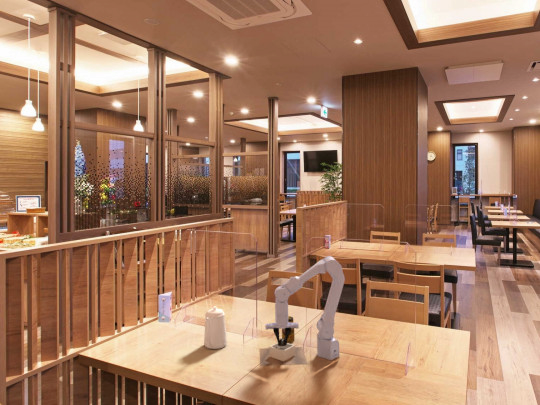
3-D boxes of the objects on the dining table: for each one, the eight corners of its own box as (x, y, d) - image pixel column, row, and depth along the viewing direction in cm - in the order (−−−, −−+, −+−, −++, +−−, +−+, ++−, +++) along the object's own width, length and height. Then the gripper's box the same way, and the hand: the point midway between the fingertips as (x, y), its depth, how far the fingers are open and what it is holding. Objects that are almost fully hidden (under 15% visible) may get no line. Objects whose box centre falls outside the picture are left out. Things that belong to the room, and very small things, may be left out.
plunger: (281, 350, 187) (281, 336, 186) (291, 354, 183) (291, 339, 182) (273, 354, 182) (272, 339, 182) (283, 358, 178) (282, 343, 178)
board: (302, 348, 192) (302, 347, 192) (307, 365, 174) (307, 364, 174) (259, 350, 191) (259, 348, 191) (260, 367, 173) (260, 365, 173)
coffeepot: (194, 355, 186) (193, 314, 185) (213, 335, 211) (212, 299, 210) (217, 357, 184) (216, 315, 183) (233, 336, 208) (232, 300, 208)
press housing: (281, 350, 188) (281, 341, 188) (295, 355, 183) (295, 345, 183) (269, 356, 182) (269, 346, 182) (283, 361, 177) (283, 351, 177)
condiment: (283, 345, 196) (283, 320, 196) (278, 339, 204) (277, 315, 204) (298, 343, 198) (297, 319, 198) (292, 337, 207) (291, 313, 206)
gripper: (265, 317, 177) (266, 348, 178) (299, 316, 178) (299, 347, 179) (265, 312, 184) (265, 342, 185) (297, 311, 185) (297, 341, 186)
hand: (282, 344), depth 182 cm, fingers closed on plunger, 2 cm apart
